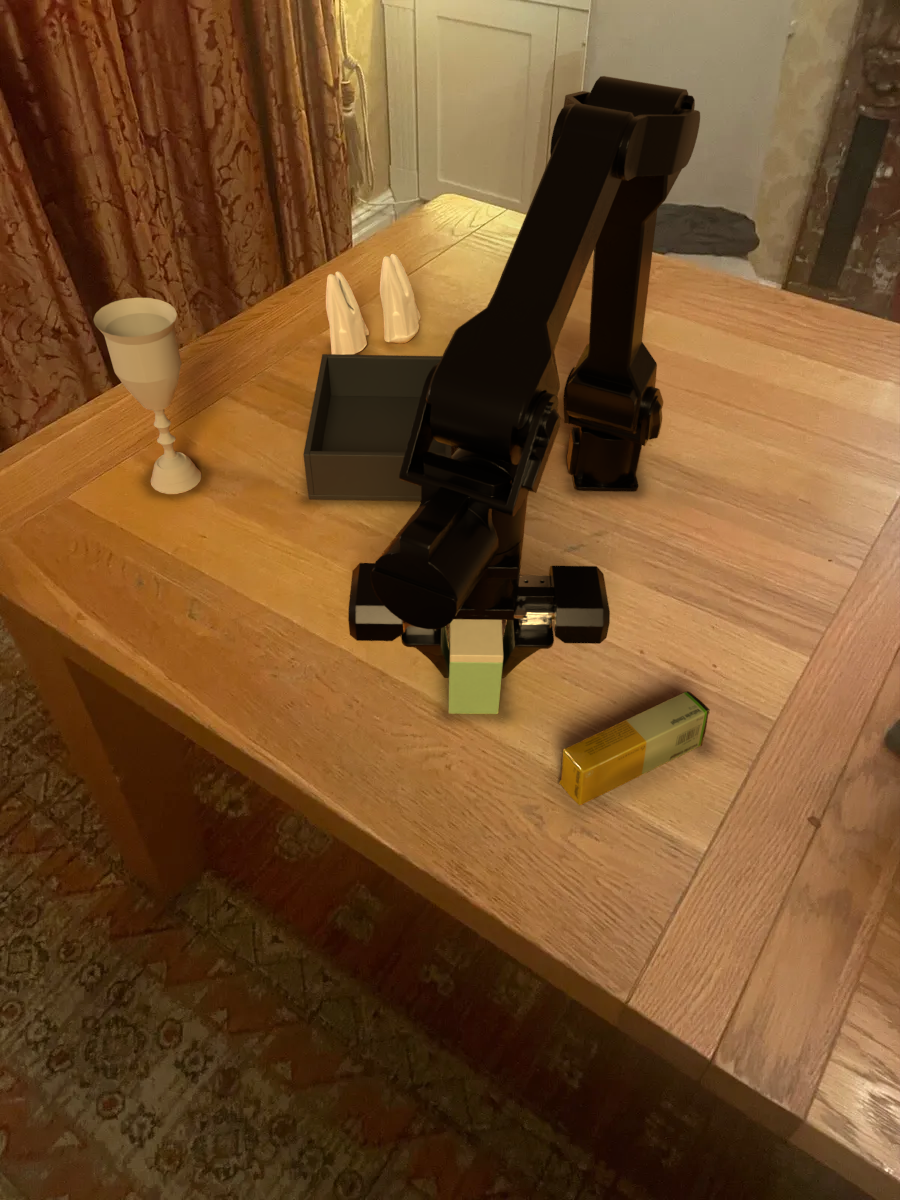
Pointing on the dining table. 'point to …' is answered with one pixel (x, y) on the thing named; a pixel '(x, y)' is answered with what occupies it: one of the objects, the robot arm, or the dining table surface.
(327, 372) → the bin
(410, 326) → the shaker set
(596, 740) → the medication box
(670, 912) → the dining table surface
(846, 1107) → the dining table surface
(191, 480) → the chalice
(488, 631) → the juice carton
